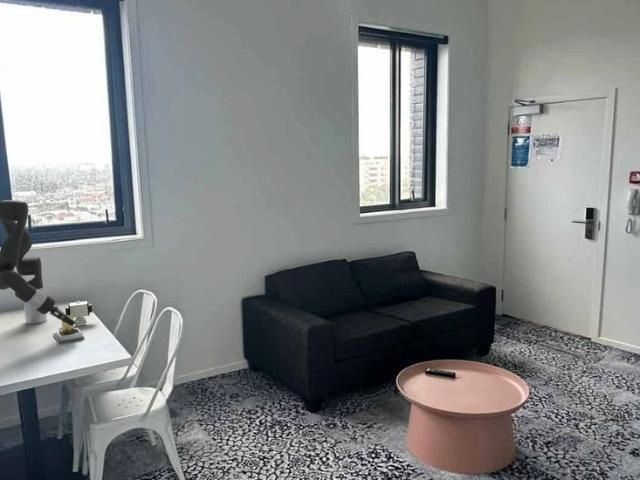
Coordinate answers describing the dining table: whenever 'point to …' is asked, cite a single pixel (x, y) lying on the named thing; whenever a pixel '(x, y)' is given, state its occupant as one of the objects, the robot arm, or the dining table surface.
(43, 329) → the dining table surface
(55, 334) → the plate
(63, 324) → the brass fitting
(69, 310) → the pneumatic valve
